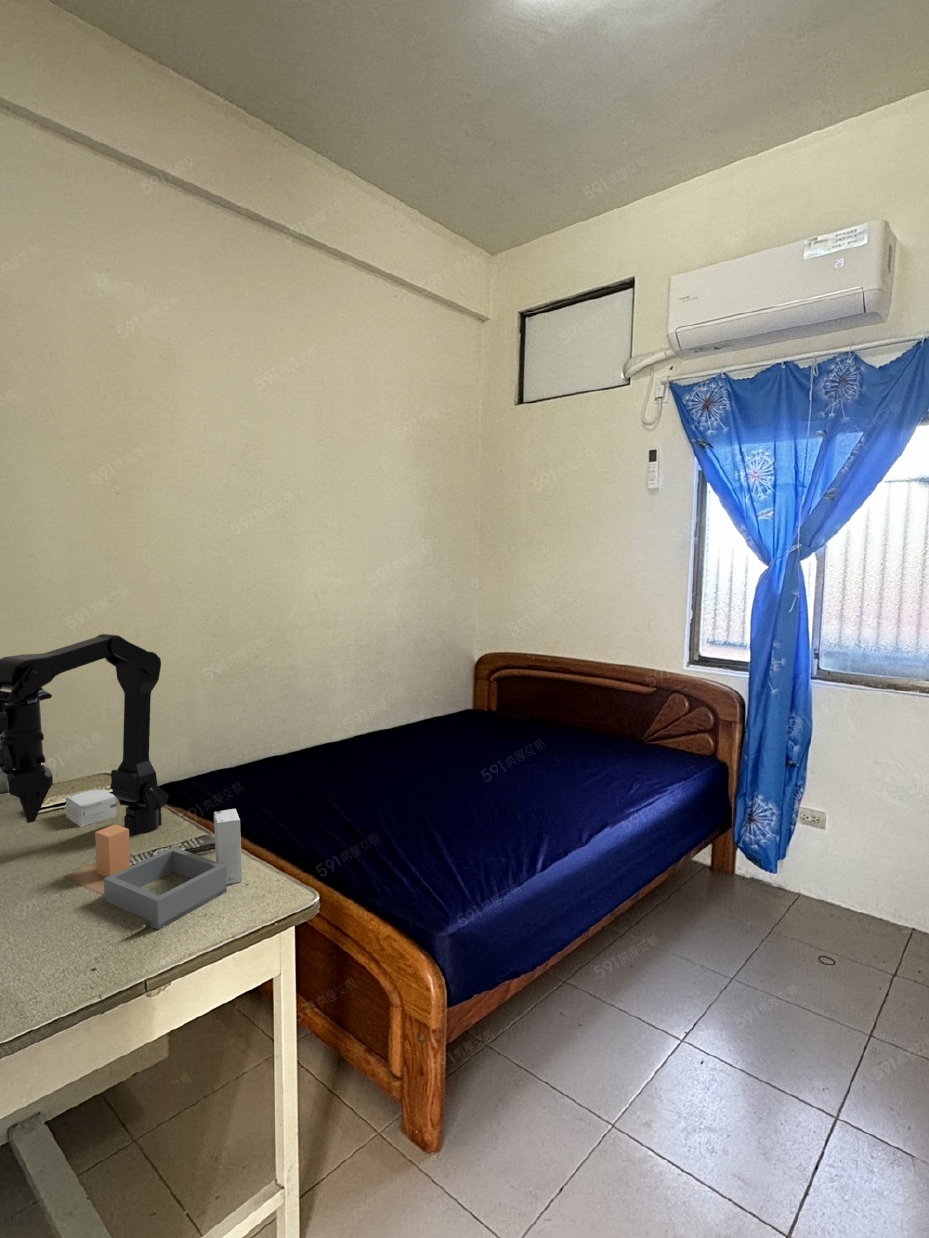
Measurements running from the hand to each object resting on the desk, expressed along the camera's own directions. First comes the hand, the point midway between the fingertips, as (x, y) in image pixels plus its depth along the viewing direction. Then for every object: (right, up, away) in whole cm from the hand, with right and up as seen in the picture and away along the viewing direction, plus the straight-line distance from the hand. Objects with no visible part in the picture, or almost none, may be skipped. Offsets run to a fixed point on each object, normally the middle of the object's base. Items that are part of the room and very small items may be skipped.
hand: (27, 813), depth 118 cm
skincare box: (+33, -14, +7) cm, 37 cm away
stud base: (+12, -14, +6) cm, 19 cm away
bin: (+25, -15, -1) cm, 29 cm away
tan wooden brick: (+12, -13, +6) cm, 19 cm away
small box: (-6, -11, +32) cm, 34 cm away
